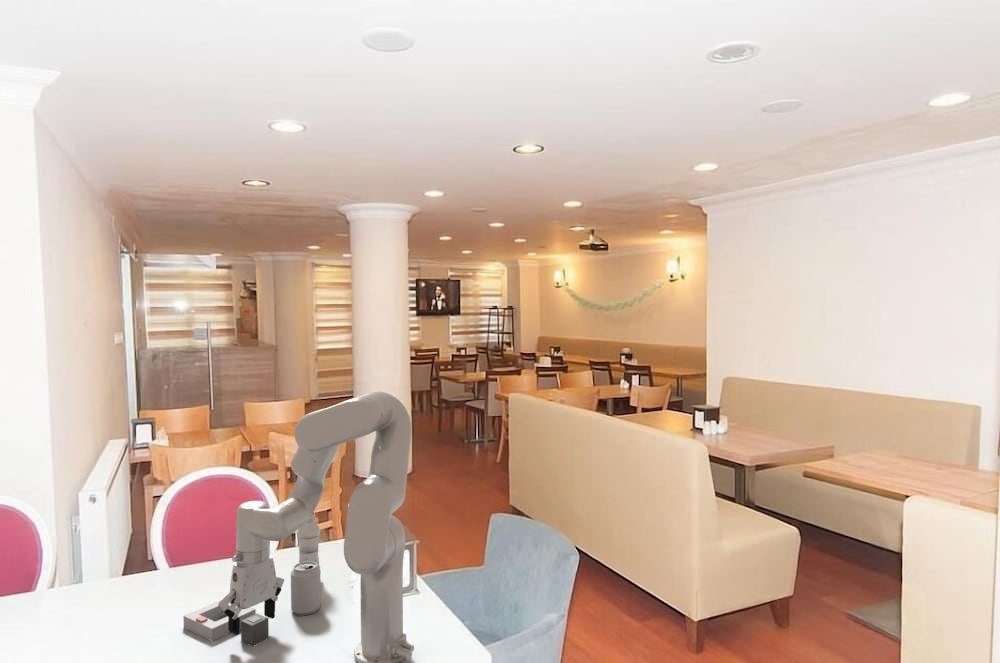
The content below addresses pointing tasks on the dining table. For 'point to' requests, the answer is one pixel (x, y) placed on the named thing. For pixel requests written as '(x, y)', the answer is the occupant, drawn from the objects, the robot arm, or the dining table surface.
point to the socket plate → (206, 626)
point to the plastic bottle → (309, 541)
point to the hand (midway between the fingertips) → (252, 624)
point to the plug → (254, 629)
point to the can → (305, 588)
